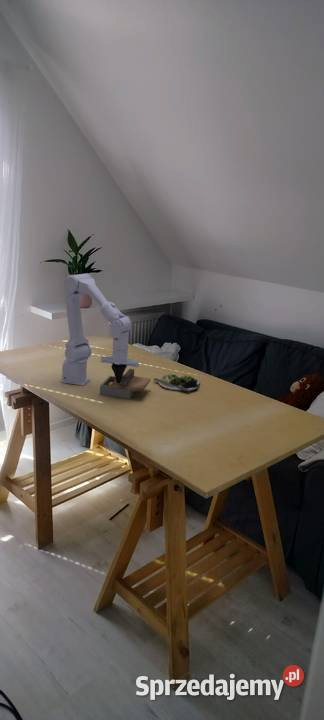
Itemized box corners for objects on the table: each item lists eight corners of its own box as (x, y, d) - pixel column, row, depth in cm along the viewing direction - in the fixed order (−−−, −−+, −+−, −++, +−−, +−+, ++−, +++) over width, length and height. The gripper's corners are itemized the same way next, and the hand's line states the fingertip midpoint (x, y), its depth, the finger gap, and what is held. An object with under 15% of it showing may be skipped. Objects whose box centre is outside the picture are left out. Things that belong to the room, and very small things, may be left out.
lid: (110, 387, 197) (111, 377, 195) (120, 376, 208) (120, 367, 207) (142, 391, 194) (143, 381, 193) (150, 380, 206) (150, 371, 205)
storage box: (99, 394, 199) (100, 385, 198) (109, 384, 210) (109, 375, 209) (129, 399, 197) (130, 390, 196) (137, 388, 208) (138, 379, 207)
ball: (107, 390, 203) (107, 382, 202) (109, 387, 206) (109, 380, 205) (114, 391, 202) (114, 384, 201) (116, 388, 205) (116, 381, 204)
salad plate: (148, 389, 209) (149, 378, 207) (157, 375, 225) (158, 365, 224) (195, 396, 206) (197, 385, 204) (201, 381, 222) (202, 371, 221)
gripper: (98, 348, 191) (97, 382, 195) (136, 354, 188) (134, 388, 192) (104, 343, 197) (103, 376, 201) (140, 348, 195) (138, 382, 199)
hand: (118, 382), depth 197 cm, fingers closed
